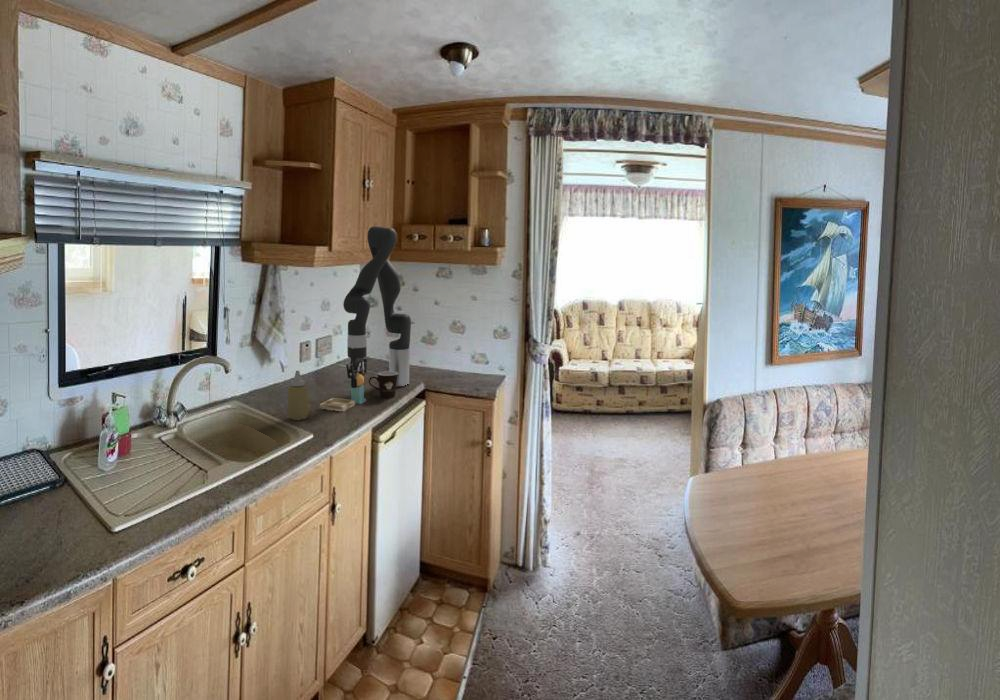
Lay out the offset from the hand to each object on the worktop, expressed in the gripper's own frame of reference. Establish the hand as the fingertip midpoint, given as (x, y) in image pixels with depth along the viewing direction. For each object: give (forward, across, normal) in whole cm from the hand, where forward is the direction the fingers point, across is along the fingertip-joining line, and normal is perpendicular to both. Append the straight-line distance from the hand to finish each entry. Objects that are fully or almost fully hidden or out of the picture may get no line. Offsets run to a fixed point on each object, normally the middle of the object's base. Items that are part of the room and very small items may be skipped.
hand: (357, 385), depth 234 cm
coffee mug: (+7, -13, +6) cm, 16 cm away
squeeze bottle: (+7, +27, -10) cm, 30 cm away
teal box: (+7, 0, 0) cm, 7 cm away
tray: (+7, +9, -4) cm, 12 cm away
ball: (-2, 0, 0) cm, 2 cm away
